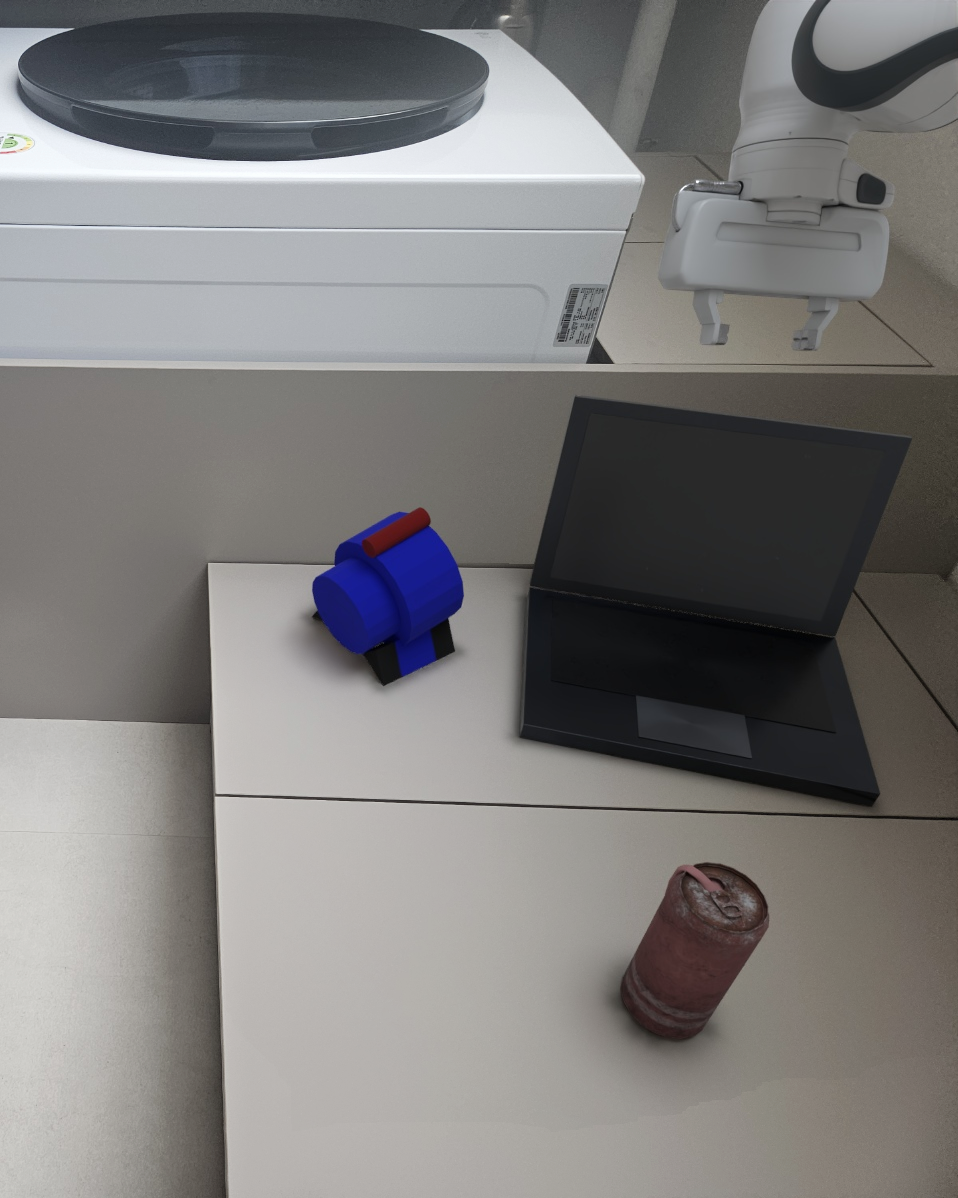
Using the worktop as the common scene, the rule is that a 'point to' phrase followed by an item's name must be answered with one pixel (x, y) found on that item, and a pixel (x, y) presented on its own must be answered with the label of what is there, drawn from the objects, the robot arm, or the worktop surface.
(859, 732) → the laptop
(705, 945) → the can
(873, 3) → the robot arm
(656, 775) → the worktop surface
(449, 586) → the alarm clock
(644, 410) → the laptop screen
